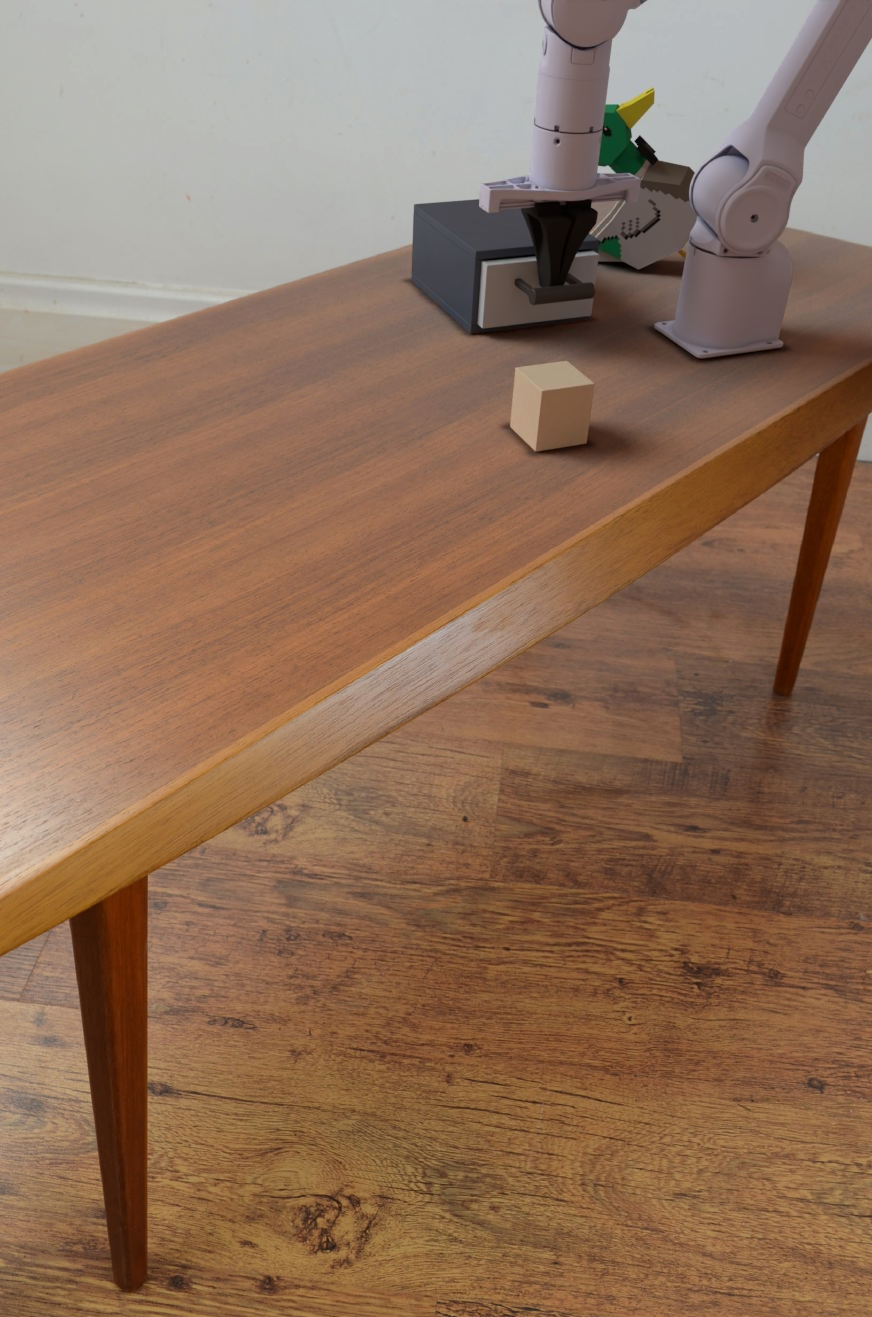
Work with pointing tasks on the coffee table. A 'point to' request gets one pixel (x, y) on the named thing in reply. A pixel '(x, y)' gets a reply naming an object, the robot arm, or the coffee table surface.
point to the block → (551, 405)
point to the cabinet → (468, 255)
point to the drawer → (534, 291)
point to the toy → (642, 193)
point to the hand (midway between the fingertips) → (550, 287)
